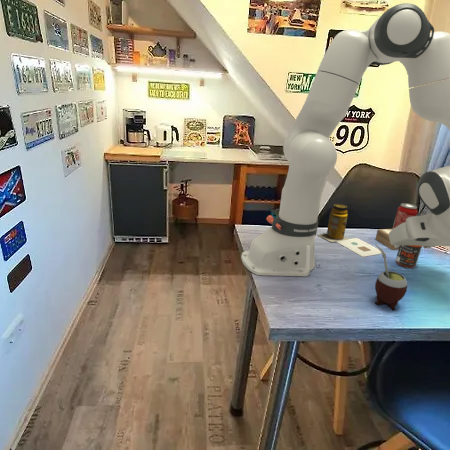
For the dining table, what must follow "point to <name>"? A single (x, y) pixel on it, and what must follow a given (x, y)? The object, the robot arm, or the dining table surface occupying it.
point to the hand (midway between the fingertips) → (410, 245)
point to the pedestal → (385, 238)
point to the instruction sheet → (359, 247)
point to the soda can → (404, 213)
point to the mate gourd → (389, 286)
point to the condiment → (336, 223)
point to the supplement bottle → (408, 255)
